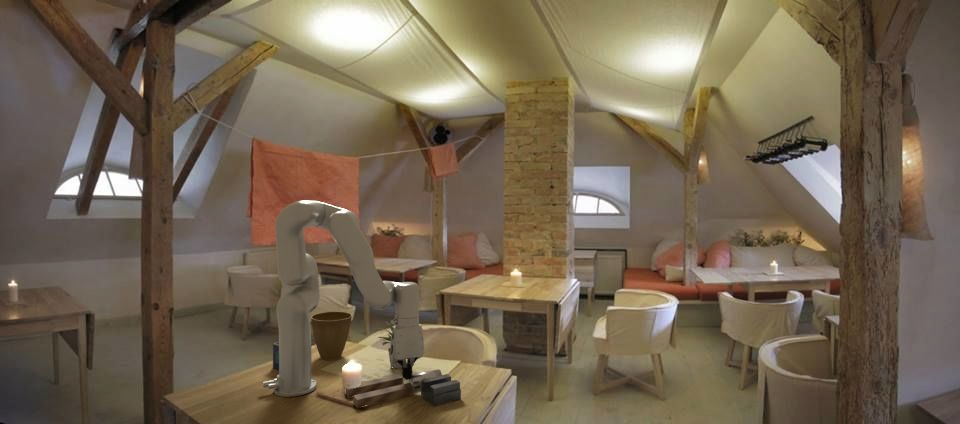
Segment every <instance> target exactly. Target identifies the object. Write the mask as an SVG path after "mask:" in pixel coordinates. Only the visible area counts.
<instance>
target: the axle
mask: <svg viewBox="0 0 960 424" xmlns="http://www.w3.org/2000/svg"><path fill="white" fill-rule="evenodd" d="M441 375H443V374H442V371H441V370H440V369H439V368H438V369H437V368H436V369H433V370H428V371H427V370H426V371H424V372H418V373H414V374H413V373H412V375H411V379H408V383H411V384H412V385H413V386H414V388H419V387H421V386H422V380H423V379H428V378H432V377H436V376H441Z"/></svg>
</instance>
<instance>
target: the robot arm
mask: <svg viewBox="0 0 960 424" xmlns="http://www.w3.org/2000/svg"><path fill="white" fill-rule="evenodd" d="M360 222H361V221H360V218H359V217H358V215H357V214H356V212H354V211H352V210H348V209H345V208H342V207H338V206H334V205H332V204H328V203H325V202H321V201H318V200H306V199H305V200H297V201H295V202H292V203H290V204H288V205H286V206H285V207H284V208H283V209H281V211H280V212H278V214H277V217H276V219H275V222H274V223H275V225H274V231H275V232H274V233H275V242H276V243H275V246H276V264H277V275H278V279H279V281H280V282H281V284H283V285H285V286H289V288H290V290H288V291H286V292H285V293H283V294H282V296H281V297H279V300H278V302H277V304H276V308H275V310H276V318H277V325H278V342H279V371H278V374H277V375H276V377H275V378H274V377H273V379H271V380H265V381H262V389H265V388H267V389H268V390H271V389H273V393H274V394H275V395H276V396H279V397H284V398H285V397H286V398H287V397H288V398H289V397H290V398H291V397H299V396H302V395H306V394H309V393H311V392H312V391H314V390H315V389H316V388H317V386H318V384H317V381H316V380H315V379H313V378H312V323H311V318H310V314H311V313H312V312H313V311H314V310H316V309H317V307H318V306H319V305H318V304H319V302H320V296H321V295H320V282H319V280H320V279H319V269H318V264H317V261H316V260H315V258H314V257H313V256H312V255H311V254H310V253H307V251H306V239H305V235H304V229H306V228H311V227H315V228H319V229H323V230H326V231H328V232H329V234H330V235H331V237H332V239H333V241H335V244H336V245H337V248H338V249H339V250H340V252H341V254H342V255H343V257H344V258H345V260H346V261H347V264H348V267H349V270H350V272H351V275H352V277H353V280H354V282H355V284H356V286H357V288H358V290H359V292H360V293H361V295H362V297H363V298H364V300H365V302H366V303H367V304H368V306H370V307H371V308H372V309H373V310H376V311H383V310H386V309H388V307H389V306H390V305H391V304H393V303H394V308H395V309H394V313H395V314H394V319H391V320H390V325H392V327H393V330H391V333H392V336H391V335H390V336H391V341H390V343H391V344H390V347H389V348H390V352H391V362H392V363H399V364H400V365H401V366H402V368H401V376H402V377H403V380H406V381H409V379H411V375H412V374H413V367H414V365H415V363H416V361H417V360H420V359H421V358H423V357H424V356H423V355H424V354H425V337H424V331H423V327H422V324H421V323H420V287H419V284H418V283H417V282H414V281H403V282H396V281H391V280H383V279H382V277H381V276H380V274H379V272H378V270H377V267H376V264H375V257H374V251H373V248H372V247H371V245H370V243H369V242H368V240H367V238H366V236H365V235H364V233H363V232H362V230H361V229H360Z"/></svg>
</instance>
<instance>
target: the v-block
mask: <svg viewBox="0 0 960 424" xmlns="http://www.w3.org/2000/svg"><path fill="white" fill-rule="evenodd" d="M420 396H421V397H422V398H423V399H424V400H426V401H427V402H428V403H429V404H431V405H432V406H434V407H437V406H441V405H445V404H448V403H452V402H453V403H454V402H456V401H459V400H461V399H462V389H461V382H460V381H459V380H457V379H453V380H452V376H451V375H449V374H448V373H446V374H442V375H441V376H436V377H432V378H428V379H423V380H422V386H420Z"/></svg>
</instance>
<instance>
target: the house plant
mask: <svg viewBox="0 0 960 424" xmlns="http://www.w3.org/2000/svg"><path fill="white" fill-rule="evenodd" d="M385 323H387V324H388V326H389V328H390V330H391V332H390V331H389V330H387V329H386V328H383V327H382V328H381V327H380V329H381V330H382V331H386V333H387V334H386V335H387V336H388V337H386V336H377V338H378V339H382V340H383V341H384V342H381V344H380V345H382V346H384V345H387V344H390V345H391V336H392V330H393V325H392V324H391V323H389V322H387V321H386V322H385ZM388 341H389V342H388ZM382 346H381V347H382ZM390 348H391V347H389V348H388V349H387V350H388V356H389V358H388V359H389V364H390V368H391V367H393V368H392V369H394V368H400V369H402V366H401V365H400V364H399V363H392V362H391V352H390Z"/></svg>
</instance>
